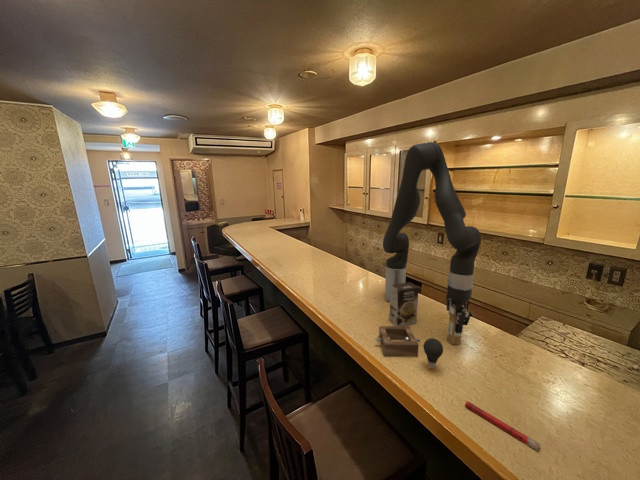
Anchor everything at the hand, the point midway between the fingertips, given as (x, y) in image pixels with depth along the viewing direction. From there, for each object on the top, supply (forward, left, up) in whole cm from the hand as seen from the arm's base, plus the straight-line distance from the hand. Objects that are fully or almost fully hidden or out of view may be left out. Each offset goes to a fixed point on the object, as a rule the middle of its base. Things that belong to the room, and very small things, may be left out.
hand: (455, 328), depth 92 cm
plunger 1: (+3, -26, -4) cm, 26 cm away
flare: (+33, -4, -6) cm, 33 cm away
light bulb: (+13, -13, -6) cm, 19 cm away
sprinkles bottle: (0, 0, -5) cm, 5 cm away
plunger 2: (+3, -16, -4) cm, 17 cm away
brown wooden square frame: (+3, -21, -5) cm, 22 cm away
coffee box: (-13, -15, -6) cm, 21 cm away
